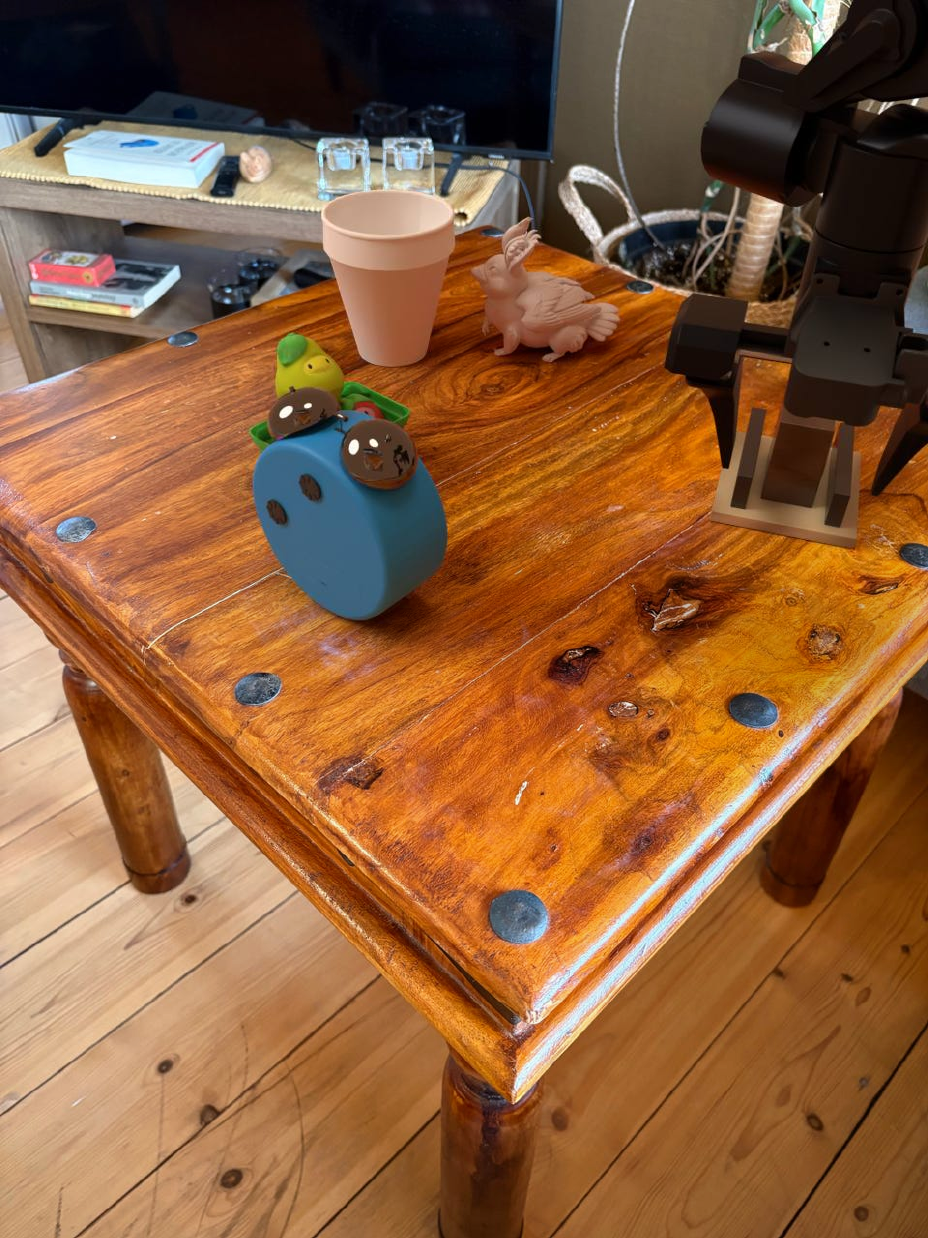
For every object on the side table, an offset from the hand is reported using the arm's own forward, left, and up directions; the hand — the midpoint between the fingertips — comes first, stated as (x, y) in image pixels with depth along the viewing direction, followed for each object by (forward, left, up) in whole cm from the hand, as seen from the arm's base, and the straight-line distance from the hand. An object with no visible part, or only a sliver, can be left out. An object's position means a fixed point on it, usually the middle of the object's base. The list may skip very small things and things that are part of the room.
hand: (798, 479), depth 63 cm
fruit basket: (+36, -6, -11) cm, 38 cm away
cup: (+39, -28, -11) cm, 49 cm away
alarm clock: (+28, +8, -11) cm, 31 cm away
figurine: (+25, -34, -11) cm, 44 cm away
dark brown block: (-1, -16, -10) cm, 19 cm away
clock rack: (-1, -16, -11) cm, 19 cm away
